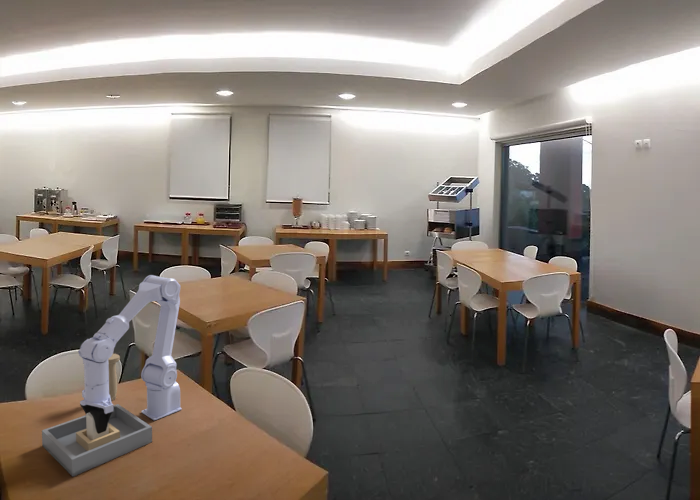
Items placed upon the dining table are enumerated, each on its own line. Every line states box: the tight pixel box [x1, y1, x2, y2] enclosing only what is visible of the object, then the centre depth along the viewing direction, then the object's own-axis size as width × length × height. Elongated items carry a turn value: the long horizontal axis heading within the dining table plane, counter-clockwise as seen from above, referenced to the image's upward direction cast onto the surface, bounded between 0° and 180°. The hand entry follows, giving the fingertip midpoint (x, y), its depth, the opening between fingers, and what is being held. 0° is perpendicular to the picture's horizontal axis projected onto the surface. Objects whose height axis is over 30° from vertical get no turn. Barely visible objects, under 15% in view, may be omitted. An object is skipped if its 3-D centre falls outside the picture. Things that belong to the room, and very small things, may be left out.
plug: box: [85, 413, 109, 440], centre depth 116 cm, size 4×4×8 cm
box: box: [41, 403, 153, 477], centre depth 117 cm, size 20×20×4 cm
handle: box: [108, 353, 121, 402], centre depth 141 cm, size 5×6×15 cm
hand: (97, 428), depth 116 cm, fingers closed on plug, 4 cm apart
